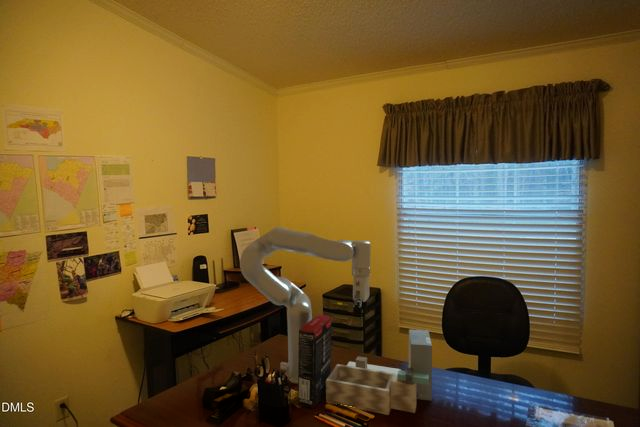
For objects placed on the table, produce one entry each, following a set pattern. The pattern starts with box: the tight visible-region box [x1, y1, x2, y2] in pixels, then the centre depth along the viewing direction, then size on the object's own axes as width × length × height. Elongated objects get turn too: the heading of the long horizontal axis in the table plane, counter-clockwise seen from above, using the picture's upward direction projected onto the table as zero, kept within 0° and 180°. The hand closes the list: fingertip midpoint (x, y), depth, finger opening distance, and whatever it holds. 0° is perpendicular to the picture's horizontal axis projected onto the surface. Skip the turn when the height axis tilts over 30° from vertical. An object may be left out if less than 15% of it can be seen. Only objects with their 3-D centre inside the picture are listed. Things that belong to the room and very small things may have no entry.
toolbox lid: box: [346, 355, 402, 375], centre depth 147 cm, size 22×13×6 cm, turn 69°
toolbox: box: [325, 363, 417, 416], centre depth 128 cm, size 30×13×13 cm, turn 69°
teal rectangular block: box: [397, 369, 429, 385], centre depth 123 cm, size 10×3×2 cm, turn 69°
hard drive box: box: [408, 329, 433, 401], centre depth 135 cm, size 16×8×20 cm, turn 168°
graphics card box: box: [297, 314, 332, 409], centre depth 132 cm, size 17×7×27 cm, turn 159°
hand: (360, 313), depth 147 cm, fingers open, 9 cm apart
